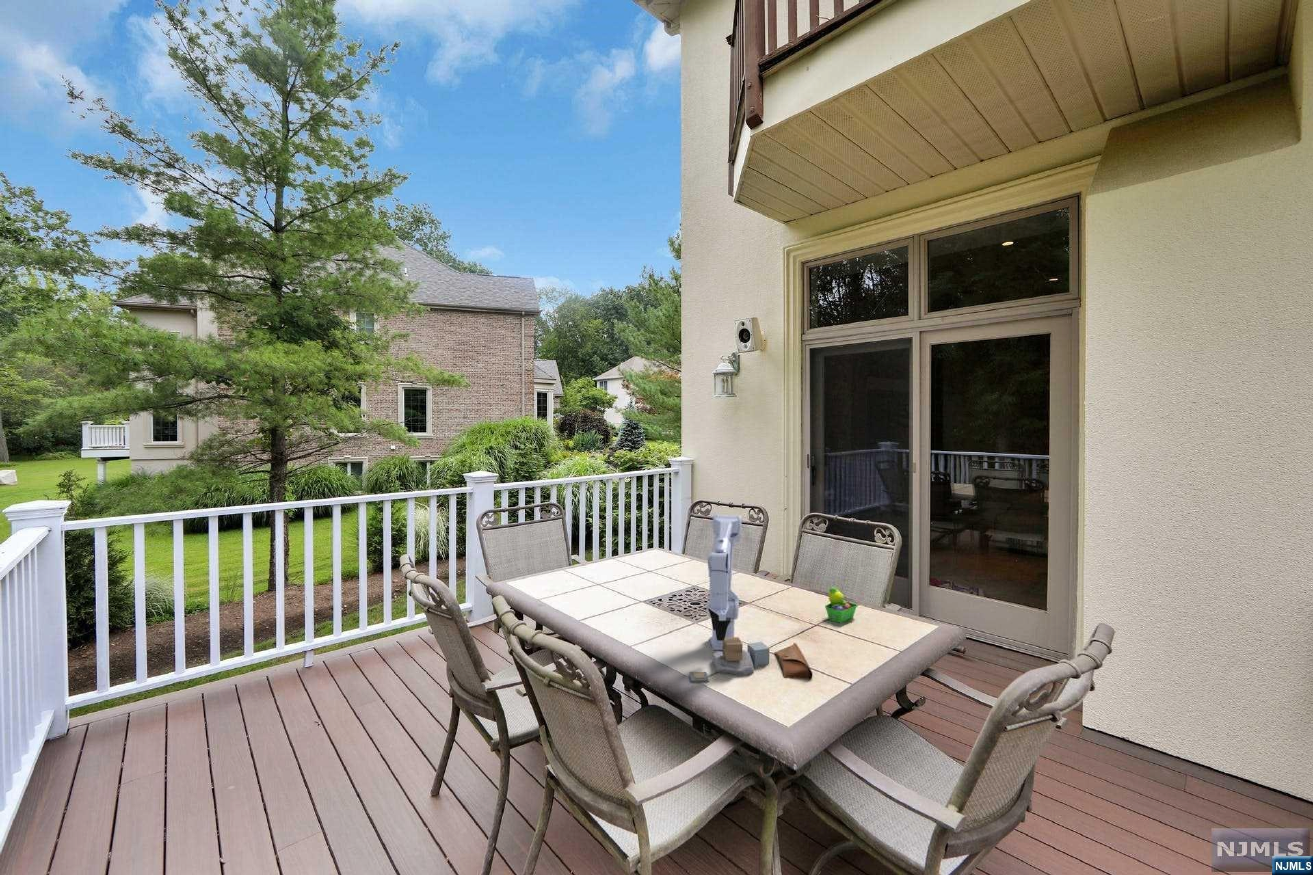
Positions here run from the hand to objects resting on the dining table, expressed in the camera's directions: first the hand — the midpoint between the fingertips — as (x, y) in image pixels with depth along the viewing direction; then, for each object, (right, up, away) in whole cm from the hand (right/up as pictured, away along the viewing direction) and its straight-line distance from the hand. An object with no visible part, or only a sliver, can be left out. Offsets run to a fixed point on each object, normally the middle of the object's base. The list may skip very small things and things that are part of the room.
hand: (718, 634), depth 161 cm
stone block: (+4, -10, -2) cm, 11 cm away
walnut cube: (+4, -6, -2) cm, 7 cm away
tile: (-7, -10, -8) cm, 14 cm away
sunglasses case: (+23, -10, +1) cm, 25 cm away
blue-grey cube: (+13, -10, +3) cm, 16 cm away
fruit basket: (+51, -9, +39) cm, 65 cm away
